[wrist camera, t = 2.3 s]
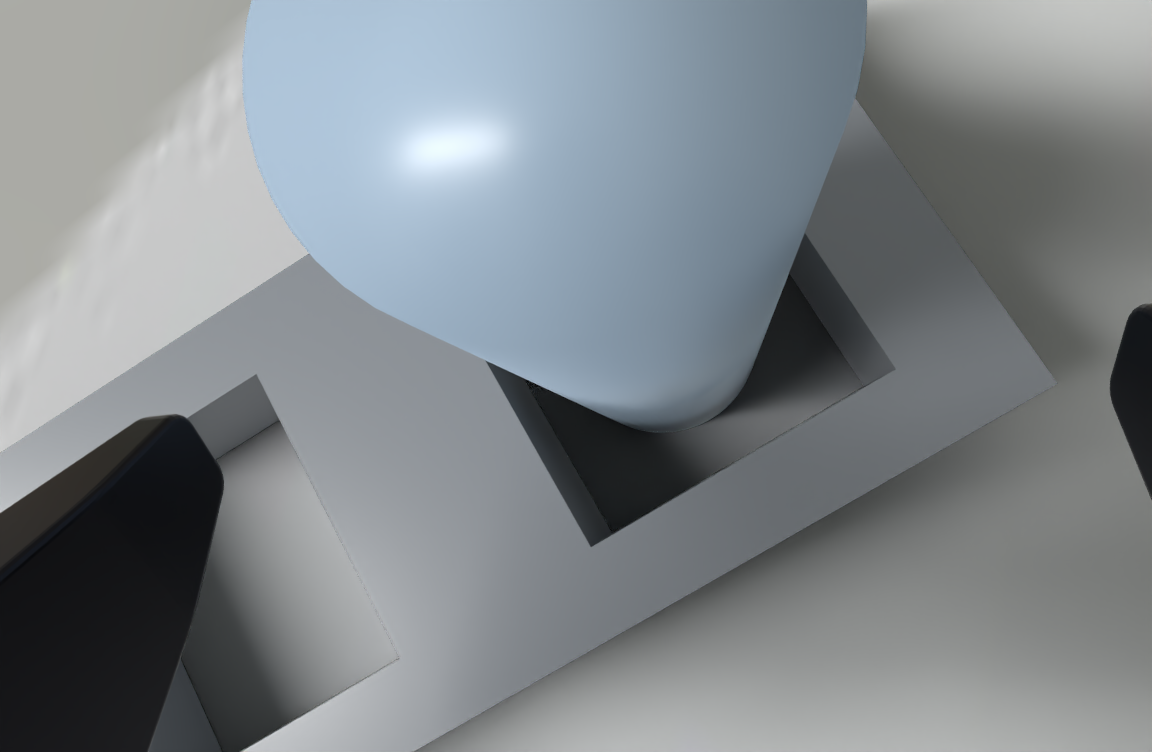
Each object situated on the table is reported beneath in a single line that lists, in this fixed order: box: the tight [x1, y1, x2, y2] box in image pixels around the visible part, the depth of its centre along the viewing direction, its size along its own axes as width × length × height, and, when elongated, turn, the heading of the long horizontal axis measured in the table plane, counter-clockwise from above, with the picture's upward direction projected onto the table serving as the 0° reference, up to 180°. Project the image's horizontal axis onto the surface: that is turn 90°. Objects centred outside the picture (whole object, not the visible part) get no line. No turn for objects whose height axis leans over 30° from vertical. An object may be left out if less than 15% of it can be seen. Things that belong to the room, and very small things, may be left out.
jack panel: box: [0, 98, 1058, 752], centre depth 16 cm, size 20×9×3 cm, turn 120°
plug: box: [243, 0, 867, 433], centre depth 11 cm, size 4×4×12 cm
